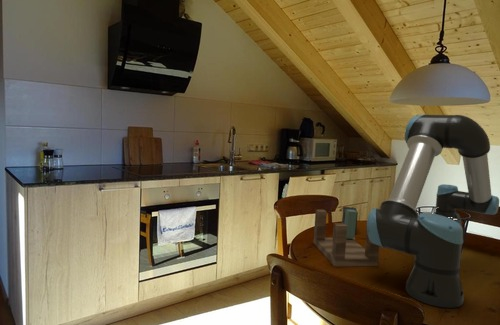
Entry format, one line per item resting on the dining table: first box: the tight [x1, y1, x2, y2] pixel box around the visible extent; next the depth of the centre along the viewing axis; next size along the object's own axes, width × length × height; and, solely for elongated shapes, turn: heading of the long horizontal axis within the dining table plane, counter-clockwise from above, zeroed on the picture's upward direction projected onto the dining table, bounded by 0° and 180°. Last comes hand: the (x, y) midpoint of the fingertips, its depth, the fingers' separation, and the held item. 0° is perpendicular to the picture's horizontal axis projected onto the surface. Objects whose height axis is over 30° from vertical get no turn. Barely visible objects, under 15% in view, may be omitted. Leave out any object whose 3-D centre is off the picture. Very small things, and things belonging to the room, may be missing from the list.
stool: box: [313, 208, 380, 267], centre depth 135 cm, size 24×16×14 cm, turn 7°
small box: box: [341, 206, 359, 235], centre depth 166 cm, size 11×6×10 cm, turn 168°
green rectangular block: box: [344, 209, 358, 241], centre depth 145 cm, size 4×4×12 cm
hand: (371, 220), depth 146 cm, fingers closed
